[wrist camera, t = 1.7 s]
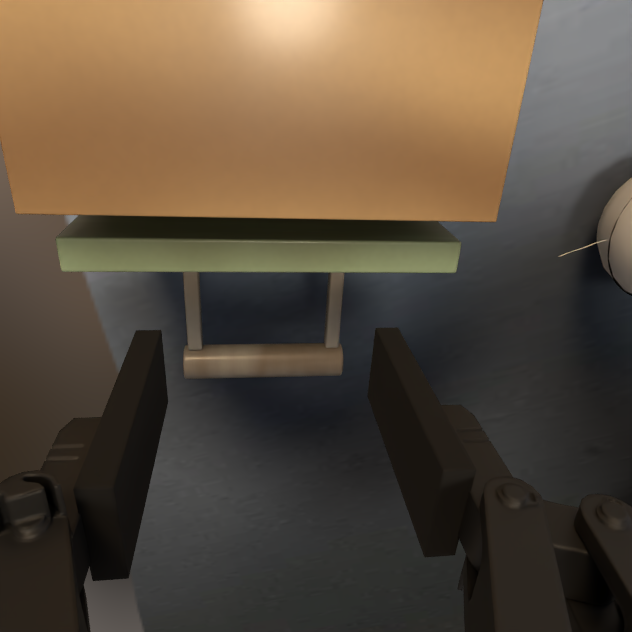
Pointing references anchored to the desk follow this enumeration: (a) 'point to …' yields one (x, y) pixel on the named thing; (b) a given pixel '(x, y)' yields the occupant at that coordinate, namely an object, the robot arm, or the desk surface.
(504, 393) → the desk surface
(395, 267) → the drawer
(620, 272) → the cream egg
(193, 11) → the cabinet
